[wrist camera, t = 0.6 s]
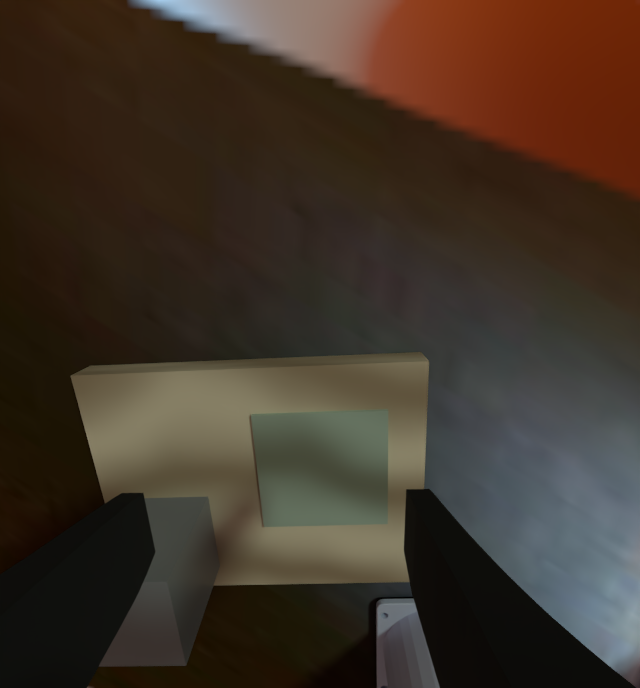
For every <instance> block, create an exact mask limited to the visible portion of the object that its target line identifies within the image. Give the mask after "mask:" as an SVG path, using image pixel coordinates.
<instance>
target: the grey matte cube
mask: <svg viewBox="0 0 640 688" xmlns="http://www.w3.org/2000/svg"><path fill="white" fill-rule="evenodd" d="M144 499H145V503H146V508H147V513H148V518H149V523H150V528H151V532H152V537H153V542H154V547H155V555H154V557H153V560H152V562H151V565H150V567H149V570H148V572H147V575H146V577H145V579H144V582H143V584H142V586H141V589H140V591H139V593H138V595H137V597H136V599H135V601H134V603H133V605H132V607H131V608H130V610H129V612H128V614H127V616H126V618H125V619H124V621H123V623H122V625H121V627H120V629H119V630H118V632H117V634H116V636H115V638H114V639H113V641H112V643H111V645H110V647H109V648H108V650H107V652H106V654H105V656H104V658H103V659H102V661H101V663H100V665H99V666H186V664H187V661H188V658H189V655H190V653H191V650H192V647H193V644H194V641H195V638H196V635H197V632H198V629H199V626H200V623H201V620H202V617H203V614H204V611H205V608H206V606H207V603H208V600H209V597H210V594H211V591H212V588H213V585H214V582H215V579H216V576H217V573H218V570H219V567H220V564H219V558H218V552H217V546H216V540H215V534H214V528H213V522H212V516H211V510H210V504H209V498H208V497H172V498H144Z"/></svg>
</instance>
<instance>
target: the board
mask: <svg viewBox="0 0 640 688" xmlns="http://www.w3.org/2000/svg"><path fill="white" fill-rule="evenodd" d="M428 373H429V361H428V360H427V358H426V357H425V356H424V355H423V354H422V353H421V352H411V353H387V354H363V355H339V356H315V357H291V358H267V359H243V360H219V361H195V362H171V363H147V364H123V365H99V366H89V367H87V368H85V369H83V370H81V371H79V372H77V373H75V374H73V375H71V379H72V383H73V387H74V390H75V394H76V398H77V401H78V405H79V409H80V413H81V416H82V420H83V424H84V427H85V431H86V435H87V439H88V442H89V446H90V450H91V453H92V457H93V461H94V465H95V468H96V472H97V476H98V479H99V483H100V487H101V491H102V494H103V498H104V502H105V503H107V502H108V501H110V500H111V499H113V498H114V497H116V496H118V495H119V494H121V493H143V494H144V498H172V497H208V498H209V504H210V510H211V516H212V522H213V528H214V534H215V540H216V546H217V552H218V558H219V564H220V567H219V570H218V573H217V576H216V579H215V582H214V585H265V584H321V583H376V582H410V581H409V576H408V571H407V565H406V560H405V555H404V531H405V507H406V489H424V475H425V450H426V424H427V399H428Z"/></svg>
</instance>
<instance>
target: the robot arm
mask: <svg viewBox="0 0 640 688" xmlns="http://www.w3.org/2000/svg"><path fill="white" fill-rule="evenodd" d="M154 555H155V547H154V542H153V537H152V532H151V528H150V523H149V518H148V513H147V508H146V503H145V499H144V494H143V493H121V494H119V495H118V496H116V497H114V498H113V499H111V500H110V501H108V502H107V503H105V504H104V505H102V506H101V507H99V508H98V509H96V510H95V511H93V512H92V513H90V514H89V515H87V516H86V517H85V518H83V519H82V520H80V521H79V522H77V523H76V524H74V525H73V526H72V527H70V528H69V529H67V530H66V531H64V532H63V533H61V534H60V535H58V536H57V537H56V538H54V539H53V540H51V541H50V542H48V543H47V544H45V545H44V546H42V547H41V548H40V549H38V550H37V551H35V552H34V553H32V554H31V555H29V556H28V557H26V558H25V559H23V560H22V561H20V562H19V563H17V564H15V565H14V566H12V567H11V568H9V569H8V570H6V571H5V572H3V573H2V574H0V688H87V686H88V685H89V683H90V681H91V679H92V677H93V676H94V674H95V672H96V670H97V668H98V667H99V665H100V663H101V661H102V659H103V658H104V656H105V654H106V652H107V650H108V648H109V647H110V645H111V643H112V641H113V639H114V638H115V636H116V634H117V632H118V630H119V629H120V627H121V625H122V623H123V621H124V619H125V618H126V616H127V614H128V612H129V610H130V608H131V607H132V605H133V603H134V601H135V599H136V597H137V595H138V593H139V591H140V589H141V586H142V584H143V582H144V579H145V577H146V575H147V572H148V570H149V567H150V565H151V562H152V560H153V557H154ZM404 555H405V560H406V565H407V571H408V576H409V581H410V586H411V591H412V595H413V598H405V599H380V600H378V602H377V603H376V675H377V688H636V687H635V686H633V685H632V684H631V683H630V682H628V681H627V680H626V679H624V678H623V677H622V676H621V675H619V674H618V673H617V672H616V671H614V670H613V669H612V668H611V667H609V666H608V665H607V664H606V663H605V662H603V661H602V660H601V659H600V658H598V657H597V656H596V655H595V654H594V653H592V652H591V651H590V650H589V649H588V648H586V647H585V646H584V645H583V644H582V643H581V642H580V641H578V640H577V639H576V638H575V637H574V636H573V635H572V634H570V633H569V632H568V631H567V630H566V629H565V628H564V627H562V626H561V625H560V624H559V623H558V622H557V621H556V620H554V619H553V618H552V617H551V616H550V615H549V614H548V613H547V612H546V611H544V610H543V609H542V608H541V607H540V606H539V605H538V604H537V603H536V602H535V601H534V600H533V599H532V598H531V597H530V596H529V595H528V594H526V593H525V592H524V591H523V590H522V589H521V588H520V587H519V586H518V585H517V584H516V583H515V582H514V581H513V580H512V579H511V578H510V577H509V576H508V575H507V574H506V573H505V572H504V571H503V570H502V569H501V568H500V567H499V566H498V565H497V564H496V563H495V562H494V561H493V560H492V558H491V557H490V556H489V555H488V554H487V553H486V552H485V551H484V550H483V549H482V548H481V547H480V546H479V545H478V544H477V543H476V541H475V540H474V539H473V538H472V537H471V536H470V535H469V534H468V533H467V532H466V530H465V529H464V528H463V527H462V526H461V525H460V524H459V523H458V521H457V520H456V519H455V518H454V517H453V516H452V515H451V513H450V512H449V511H448V510H447V509H446V508H445V506H444V505H443V504H442V503H441V502H440V501H439V499H438V498H437V497H436V496H435V495H434V493H433V492H432V491H431V490H430V489H406V507H405V531H404Z"/></svg>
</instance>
